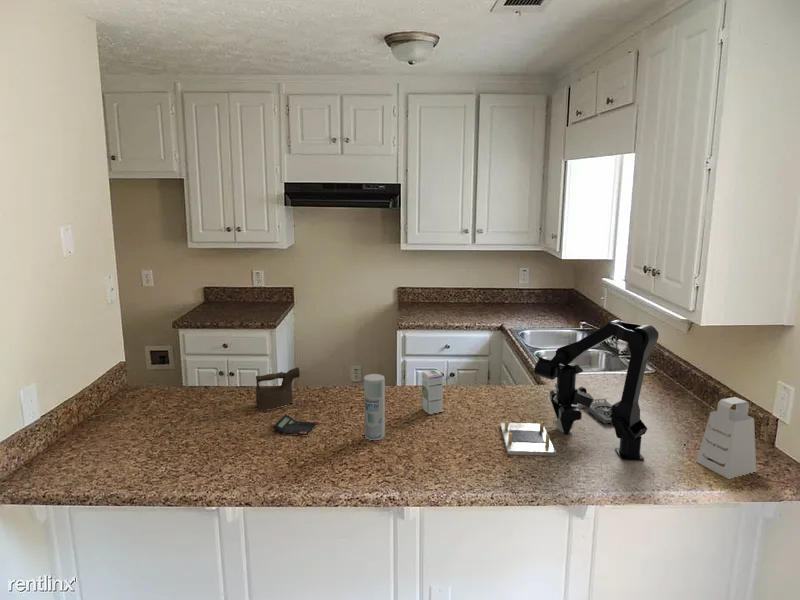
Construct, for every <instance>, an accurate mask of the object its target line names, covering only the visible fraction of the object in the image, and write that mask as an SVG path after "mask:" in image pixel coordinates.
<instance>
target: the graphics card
mask: <svg viewBox="0 0 800 600" xmlns="http://www.w3.org/2000/svg"><path fill="white" fill-rule="evenodd" d="M593 399H594V398H593ZM612 405H613V404H611V403H609V401H607V398H598V399H597V398H595V399H594V400H593V402H592V404H591V406H590V408H588V407H586V406H584V405H582V404H579V403H577V405H575V406H576V407H577V408H578V409H579V410H580V409H583V410H585V411H586V412H587V413H589V414H590V413H591V414H592V415H593V416H594V417H595V418H596V419H597V420H599V421H600V422H601V423H604V424H608V423H609V424H610V423H611V418H610V415H611V413H612Z"/></svg>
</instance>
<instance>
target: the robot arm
mask: <svg viewBox="0 0 800 600" xmlns="http://www.w3.org/2000/svg"><path fill="white" fill-rule="evenodd" d="M612 337H616V338H617V339H619V340H621V341H622V342H626V343H627V349H628V351H629V355H630V356H629V362H628V365H627V370H626V371H627V372H626V374H625V380H624V385H623V391H622V393H621V394H622V395H621V399H620V400H619V401H617V402H615V403H614V404H611V405H612V413H611V415H610V418H611V426H613V428H614V431H615V432H614V433H615V435H616V438H617V439H619V447H615V448H614V450H615V452H616V453H617V455H618V456H619V458H620V459H621V460H624V461H645V458H644V456H643V455H642V454H641V450H642V449H641V448H642V446H641V445H642V436H643V435H645V434H646V432H647V430H648V427H647V426H646V425H645V423H644V422H643V421H642V418H641V408H640V405H639V399H640V394H641V389H642V386H643V380H644V378H645V377H644V376H645V371H646V368H647V363H648V358H649V356H650V355H651V353H652V351H653V349H655V346H656V345H657V342H658V340H659V331H658V330H657V329H656V328H655V327H654V326H653V325H651V324H643V325H642V324H639V323H633V322H632V323H631V322H627V321H622V320H620V319H616V320H615V319H614V320H612V321H609V322H607V323H606V324H605V325H604V326H602V327H600V328H599V329H596V330H595V331H593V332H591V333H590V334H588V335H587V336H584V337H583V338H581V339H580V340H578V341H575V342H572V343H569V344H566V345H563V346H561V347H558V348H557V349H556V350H555V355H554V356H553V357H552V358H549V357H548V356H547V357H546V356H544V355H540V356H539V357H538V360H537V362H536V364H535V366H534V367H533V368H534V369H533V371H534V374H535V376H538V377H540V378H544V379H547V380H551V381H552V380H553V381H554V380H555V379H556V383H554V384H555V385H554V387H555V388H556V389H552V390H550V391H549V400H550V402H551V405H552V408H553V411H554V413H555V416H556V417H555V418H556V420H557V419H558V418H559V419H560V422H561V425H562V428H563V431H564V433H563V434H564V435H565V436H568V435H569V434H570V431H571V430H572V429H571V427H572V424H573V422H575V421H579V420H582V416H583V415H582V411H581V410H580V408H579V409H578V408H577V407H576V406H578V404H577V403H579V404H582V405H584V406H586V407H588V408H590V406H591V404H592V403H594V402H593V400H594V398H593V396H592V395H591V394H590V393H589V392H588V393H587V389H586V387H584V386H580V387H579V388H577V387H576V382H577V381H576V380H577V375H578V374H581V373H583V372H584V369H583V368H582V367H580V365H579V364H575V365H572V363H575V362H577V361H579V360H580V359H581V358H582V357H583V356H585V354H586V353H587V352H588V351H589V350H591V349H593V348H595V347H597V346H598V345H600V344H602V343H604V342H605V341H607V340H608V339H611V338H612ZM572 428H573V427H572Z"/></svg>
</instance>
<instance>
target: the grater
mask: <svg viewBox="0 0 800 600" xmlns="http://www.w3.org/2000/svg"><path fill="white" fill-rule="evenodd" d="M733 405H735V409H732V406H733ZM749 410H750V404H749V402H748V401H746V400H744V399H741V398H739V397H737V396H733V397H727V398H721V399H720V400H719V401H718V403H717V408H716V410H714V411H710V414H709V416H708V420H707V423H706V427H705V430H704V434H703V436H702V440H701V443H700V446H699V450H698V454H697V456H696V460H695V462H696V463H698V464H700V465H701V466H703V467H705V468H707V469H709V470H711V471H713V472H715V473H717V474H718V475H720V476H722V477H724V478H726V479H728V480H731V478H732V479H735V478H734V477H736V478H739V477H738V476H740V477H743V476H742V475H744V476H747V475H746V474H748V475H750V474H749V473H751V474H754V473H753V472H755V473H757V461H756V460H757V459H756V457H757V456H756V435H755V431H756V430H755V418H754V417H752V416H750V415H749ZM709 459H711V460H713V461H715V462H717V463H719V464H717V463H715V462H713V461H711V460H709ZM720 464H721V465H724V466H721V465H720Z"/></svg>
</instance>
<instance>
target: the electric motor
mask: <svg viewBox="0 0 800 600" xmlns="http://www.w3.org/2000/svg"><path fill="white" fill-rule="evenodd" d="M574 422H575V421H574ZM574 422H573V424H572V427H571V429H570V430H572V429H573V427H574ZM552 423H553V424H554V425H555V426H556V427H557V429H558V432H559V433H562V434H564V431H563V428H562V425H561V422H560V419H559V418H558V419H557V418H556V420H552Z"/></svg>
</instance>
